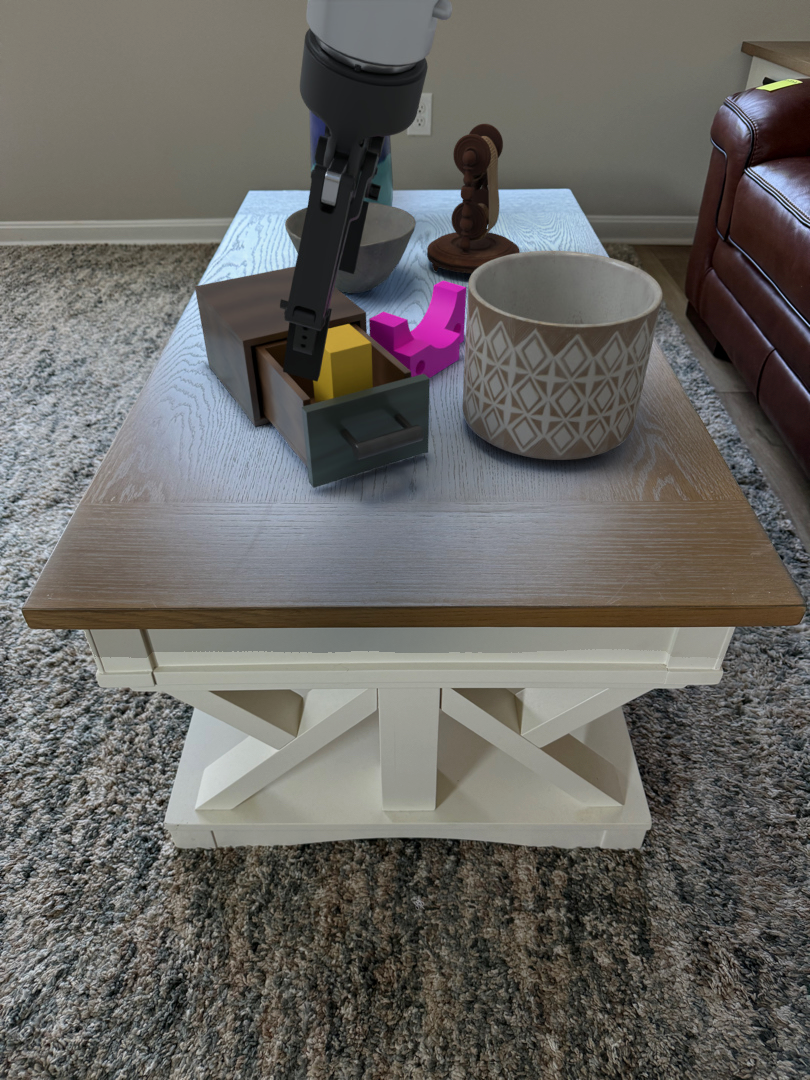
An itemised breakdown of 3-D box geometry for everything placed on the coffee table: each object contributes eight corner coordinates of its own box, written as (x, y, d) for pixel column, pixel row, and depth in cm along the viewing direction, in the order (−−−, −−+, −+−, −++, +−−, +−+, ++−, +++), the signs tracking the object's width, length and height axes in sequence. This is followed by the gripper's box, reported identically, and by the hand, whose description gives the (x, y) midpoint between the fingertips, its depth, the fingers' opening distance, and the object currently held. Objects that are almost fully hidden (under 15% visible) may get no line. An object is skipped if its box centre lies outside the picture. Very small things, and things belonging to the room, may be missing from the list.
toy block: (410, 390, 96) (410, 333, 91) (371, 375, 99) (369, 318, 94) (479, 346, 105) (482, 292, 100) (441, 333, 108) (442, 280, 103)
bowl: (270, 304, 115) (262, 235, 109) (320, 259, 129) (315, 195, 122) (391, 321, 111) (390, 250, 104) (429, 272, 124) (430, 207, 118)
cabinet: (369, 395, 95) (366, 312, 88) (255, 426, 89) (242, 340, 83) (313, 341, 106) (306, 263, 99) (208, 366, 101) (194, 286, 94)
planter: (666, 451, 85) (703, 307, 75) (507, 488, 80) (522, 339, 70) (576, 372, 99) (597, 241, 89) (435, 399, 94) (439, 263, 84)
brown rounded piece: (505, 288, 120) (516, 145, 107) (414, 275, 124) (414, 136, 111) (527, 254, 130) (541, 121, 117) (443, 244, 134) (447, 113, 121)
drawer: (449, 473, 81) (453, 397, 75) (331, 511, 76) (325, 434, 70) (363, 389, 94) (360, 320, 89) (258, 417, 89) (248, 346, 84)
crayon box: (336, 449, 82) (330, 353, 75) (316, 426, 86) (308, 332, 79) (374, 437, 84) (371, 342, 77) (353, 416, 87) (349, 323, 80)
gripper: (393, 170, 40) (332, 440, 57) (455, -20, 54) (392, 241, 71) (248, 125, 39) (231, 412, 56) (350, -55, 54) (312, 217, 71)
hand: (321, 317), depth 64 cm, fingers open, 13 cm apart
